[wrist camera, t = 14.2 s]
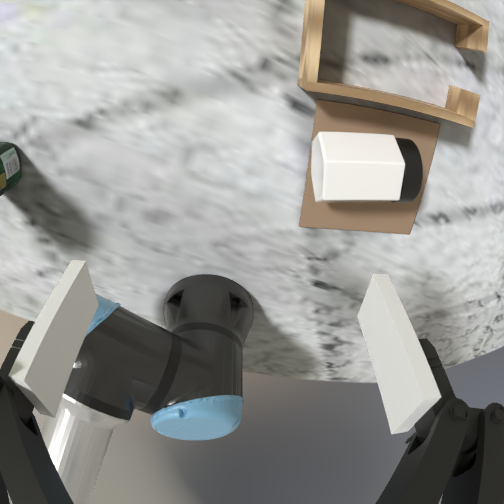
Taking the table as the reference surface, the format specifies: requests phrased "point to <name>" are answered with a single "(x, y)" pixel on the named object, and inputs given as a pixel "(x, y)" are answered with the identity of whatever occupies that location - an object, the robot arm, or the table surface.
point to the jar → (365, 168)
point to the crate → (457, 106)
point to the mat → (367, 213)
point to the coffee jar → (8, 167)
